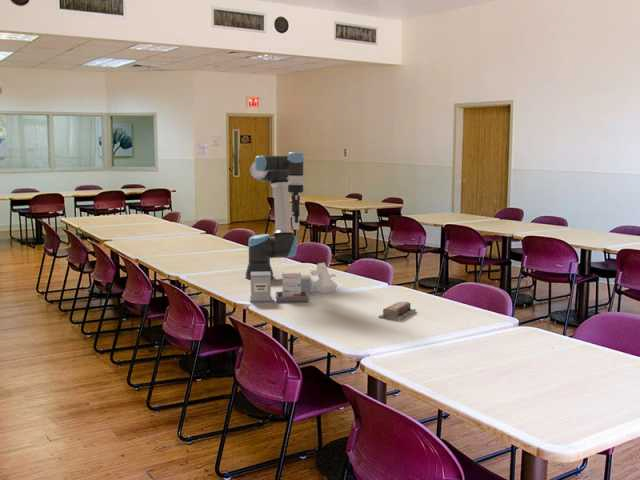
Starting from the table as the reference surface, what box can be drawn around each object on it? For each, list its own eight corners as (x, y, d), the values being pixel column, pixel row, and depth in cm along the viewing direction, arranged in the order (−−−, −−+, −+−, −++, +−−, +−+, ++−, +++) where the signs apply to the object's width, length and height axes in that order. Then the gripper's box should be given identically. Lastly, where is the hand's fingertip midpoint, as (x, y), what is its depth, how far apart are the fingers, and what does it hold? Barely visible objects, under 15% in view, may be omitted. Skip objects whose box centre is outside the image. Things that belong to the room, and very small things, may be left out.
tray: (275, 296, 314) (275, 291, 314) (306, 296, 316) (306, 291, 315) (276, 302, 303) (276, 297, 302) (308, 301, 304) (308, 296, 304)
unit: (250, 297, 312) (249, 271, 310) (271, 297, 313) (271, 271, 311) (250, 302, 302) (249, 275, 301) (271, 302, 303) (271, 275, 302)
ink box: (301, 296, 312) (301, 271, 311) (300, 298, 307) (300, 273, 306) (283, 296, 313) (282, 271, 311) (282, 298, 308) (281, 273, 306)
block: (299, 291, 327) (299, 275, 326) (309, 291, 327) (309, 275, 326) (300, 293, 322) (300, 277, 321) (310, 293, 322) (310, 277, 321)
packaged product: (400, 310, 270) (378, 307, 275) (400, 322, 271) (378, 319, 276) (416, 301, 286) (395, 299, 291) (416, 312, 287) (395, 309, 292)
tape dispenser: (341, 290, 328) (341, 263, 326) (318, 294, 320) (318, 266, 318) (331, 288, 335) (331, 261, 333) (308, 291, 327) (308, 264, 325)
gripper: (286, 182, 333) (286, 224, 336) (289, 186, 308) (289, 231, 312) (301, 182, 334) (301, 223, 337) (305, 186, 309) (304, 230, 313)
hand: (295, 227), depth 324 cm, fingers open, 13 cm apart
